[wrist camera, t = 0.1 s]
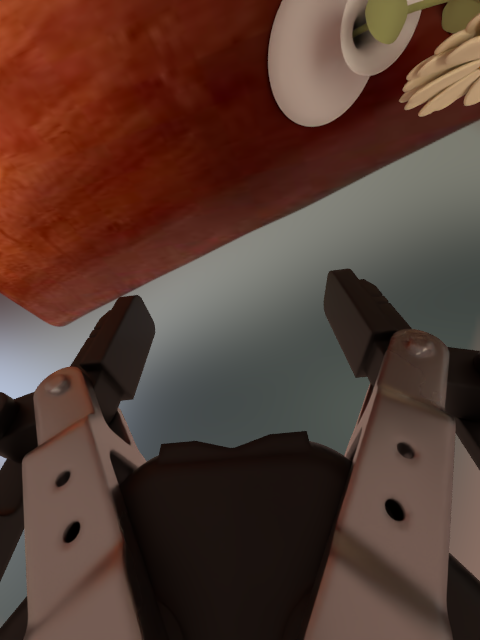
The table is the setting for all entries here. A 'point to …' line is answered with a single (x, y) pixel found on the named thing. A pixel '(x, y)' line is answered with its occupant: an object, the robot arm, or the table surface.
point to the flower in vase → (367, 55)
